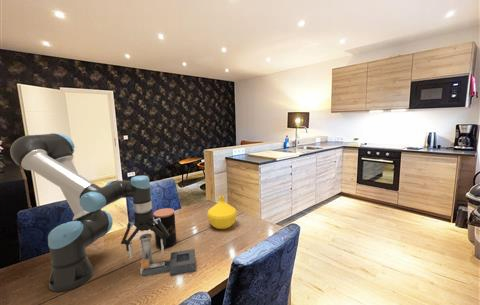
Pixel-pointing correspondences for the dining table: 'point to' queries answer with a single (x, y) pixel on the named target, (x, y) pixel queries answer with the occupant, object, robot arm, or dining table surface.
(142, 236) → the peg
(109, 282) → the dining table surface
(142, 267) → the bolt
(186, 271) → the dock
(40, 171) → the robot arm
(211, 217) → the vase
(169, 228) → the coffee jar
